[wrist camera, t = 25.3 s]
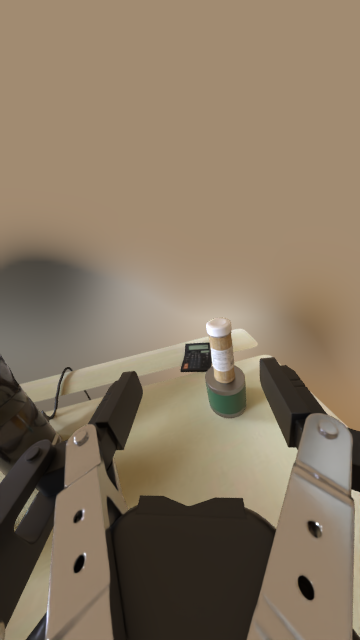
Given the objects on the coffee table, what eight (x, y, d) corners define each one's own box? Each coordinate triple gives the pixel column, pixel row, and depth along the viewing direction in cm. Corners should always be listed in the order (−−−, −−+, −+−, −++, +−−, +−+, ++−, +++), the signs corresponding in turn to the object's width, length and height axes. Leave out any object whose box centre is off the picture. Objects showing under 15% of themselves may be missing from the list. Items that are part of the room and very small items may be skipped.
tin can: (202, 403, 41) (197, 378, 38) (223, 382, 46) (220, 358, 43) (232, 426, 35) (228, 399, 32) (253, 399, 39) (252, 373, 36)
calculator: (181, 371, 53) (179, 364, 52) (187, 350, 63) (185, 343, 62) (211, 371, 51) (209, 363, 49) (212, 348, 61) (211, 341, 60)
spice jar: (221, 366, 40) (215, 315, 35) (239, 374, 37) (235, 318, 31) (209, 378, 37) (200, 324, 32) (228, 388, 34) (221, 330, 29)
